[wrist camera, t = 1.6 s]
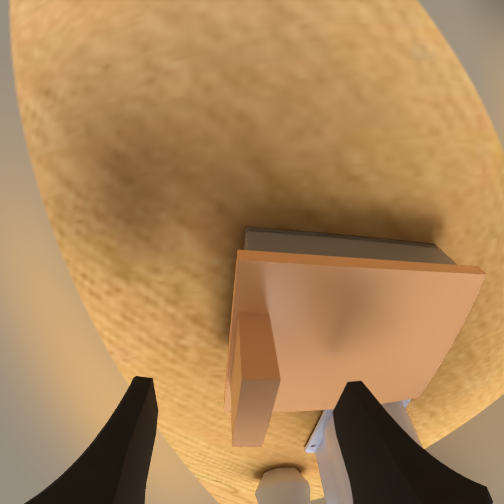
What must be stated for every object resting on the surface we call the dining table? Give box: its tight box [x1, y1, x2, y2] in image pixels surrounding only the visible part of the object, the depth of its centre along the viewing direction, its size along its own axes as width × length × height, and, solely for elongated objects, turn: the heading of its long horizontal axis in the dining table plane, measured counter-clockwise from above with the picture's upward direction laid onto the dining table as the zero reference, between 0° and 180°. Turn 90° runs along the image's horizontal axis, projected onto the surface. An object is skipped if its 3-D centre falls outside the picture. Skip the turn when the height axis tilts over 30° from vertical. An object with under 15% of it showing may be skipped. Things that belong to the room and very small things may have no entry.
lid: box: [224, 250, 487, 447], centre depth 13 cm, size 9×12×5 cm
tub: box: [243, 227, 457, 265], centre depth 16 cm, size 8×11×4 cm
